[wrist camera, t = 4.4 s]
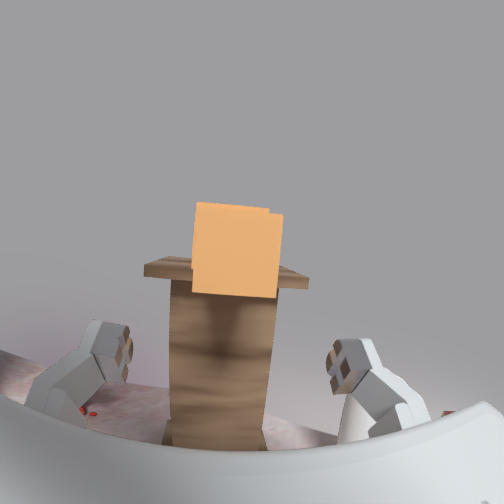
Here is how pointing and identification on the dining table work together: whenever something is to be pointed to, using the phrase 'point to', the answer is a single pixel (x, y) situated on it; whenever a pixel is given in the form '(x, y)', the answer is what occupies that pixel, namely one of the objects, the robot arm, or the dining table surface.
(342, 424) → the drinking glass
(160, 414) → the dining table surface
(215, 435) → the pedestal
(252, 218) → the stepped block
